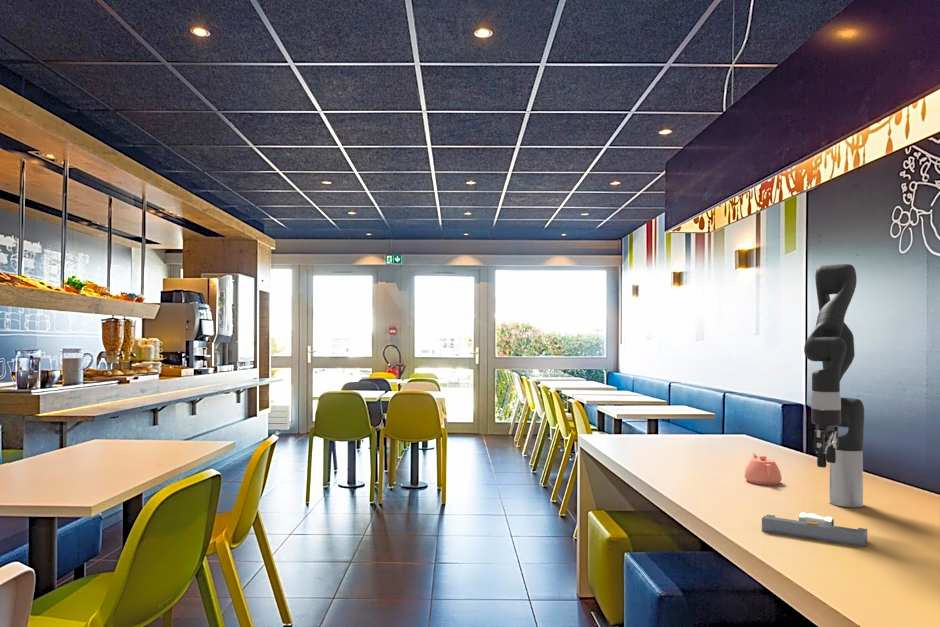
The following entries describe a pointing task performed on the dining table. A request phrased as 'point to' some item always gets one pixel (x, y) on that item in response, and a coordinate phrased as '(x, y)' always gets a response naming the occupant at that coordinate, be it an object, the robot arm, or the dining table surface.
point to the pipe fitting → (816, 519)
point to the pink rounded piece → (762, 471)
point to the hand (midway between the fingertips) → (826, 464)
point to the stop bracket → (815, 531)
